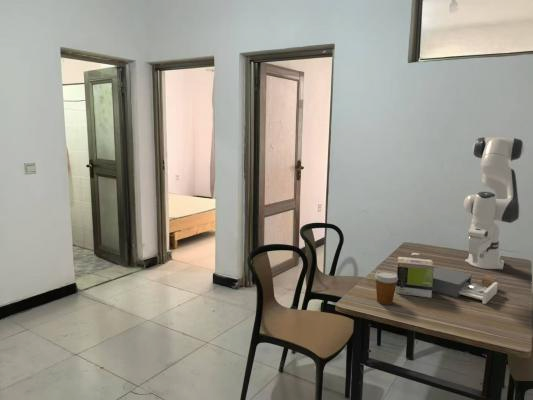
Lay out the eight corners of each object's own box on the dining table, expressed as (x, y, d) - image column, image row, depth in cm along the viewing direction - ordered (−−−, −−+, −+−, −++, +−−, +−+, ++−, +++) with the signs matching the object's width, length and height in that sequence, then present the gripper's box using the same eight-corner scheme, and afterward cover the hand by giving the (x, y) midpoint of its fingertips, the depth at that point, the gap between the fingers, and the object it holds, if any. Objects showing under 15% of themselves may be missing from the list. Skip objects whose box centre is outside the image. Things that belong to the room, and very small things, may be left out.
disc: (470, 286, 183) (470, 282, 183) (485, 290, 179) (485, 286, 179) (465, 290, 179) (466, 286, 178) (481, 294, 174) (481, 290, 174)
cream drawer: (461, 284, 191) (462, 274, 190) (496, 292, 181) (497, 282, 180) (448, 293, 179) (449, 283, 178) (485, 304, 169) (486, 292, 168)
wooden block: (484, 285, 191) (485, 275, 190) (495, 288, 187) (497, 278, 186) (480, 288, 187) (482, 278, 186) (492, 291, 184) (494, 280, 183)
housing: (438, 278, 199) (439, 266, 198) (470, 286, 189) (472, 274, 188) (423, 288, 186) (424, 275, 185) (457, 297, 176) (458, 284, 175)
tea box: (430, 290, 183) (433, 259, 181) (431, 298, 174) (434, 266, 172) (395, 285, 188) (398, 255, 186) (395, 293, 179) (397, 261, 176)
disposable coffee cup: (393, 308, 164) (395, 280, 162) (370, 302, 169) (371, 275, 167) (398, 300, 172) (401, 273, 170) (376, 295, 177) (378, 269, 175)
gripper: (481, 224, 184) (478, 253, 186) (466, 232, 169) (463, 263, 172) (496, 226, 179) (493, 256, 182) (482, 235, 165) (479, 267, 167)
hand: (478, 260), depth 177 cm, fingers open, 8 cm apart
